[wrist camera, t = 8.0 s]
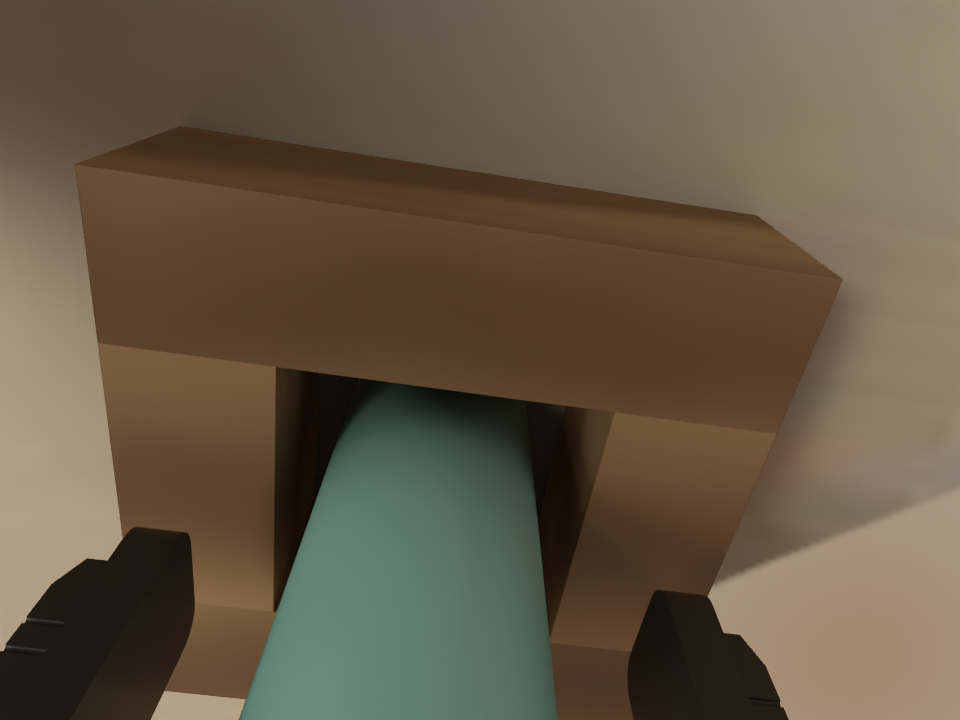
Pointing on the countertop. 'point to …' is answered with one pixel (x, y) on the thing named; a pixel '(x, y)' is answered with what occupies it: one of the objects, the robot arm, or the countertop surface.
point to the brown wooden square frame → (434, 367)
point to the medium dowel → (416, 571)
